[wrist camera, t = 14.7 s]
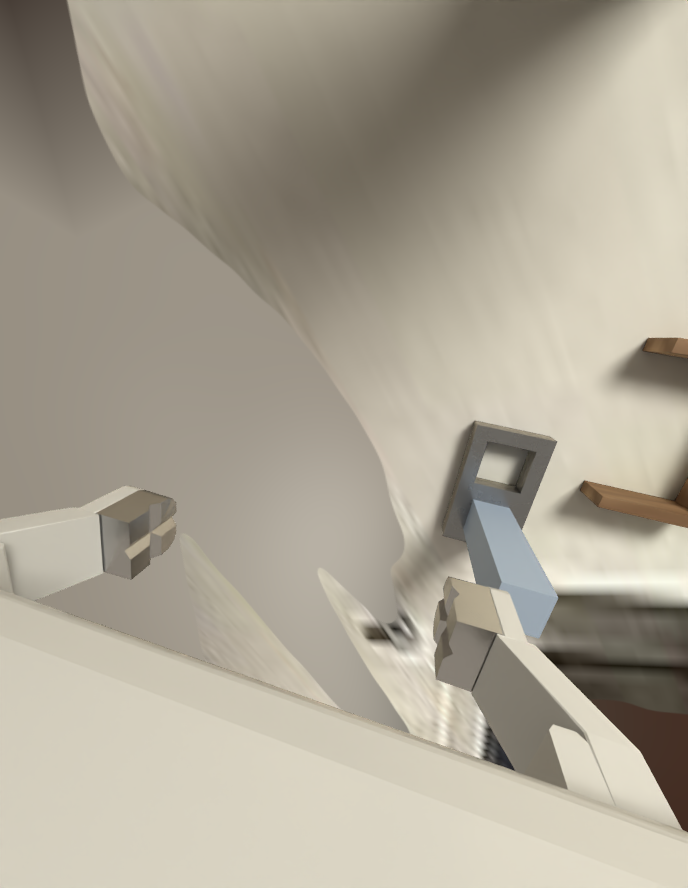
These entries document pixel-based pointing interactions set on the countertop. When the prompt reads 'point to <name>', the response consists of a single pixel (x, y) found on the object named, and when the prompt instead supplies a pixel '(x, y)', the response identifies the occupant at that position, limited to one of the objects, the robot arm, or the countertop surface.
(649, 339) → the frame
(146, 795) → the robot arm
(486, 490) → the hole plate
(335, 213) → the countertop surface
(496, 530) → the slate block
